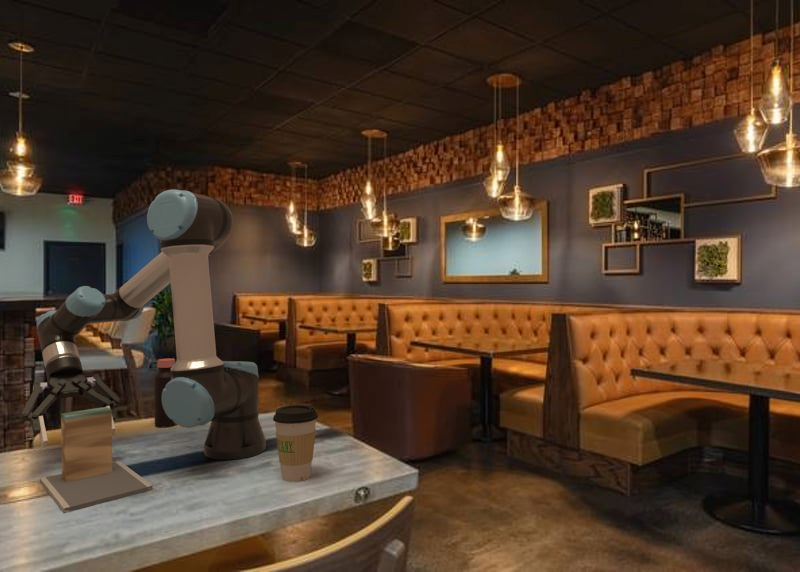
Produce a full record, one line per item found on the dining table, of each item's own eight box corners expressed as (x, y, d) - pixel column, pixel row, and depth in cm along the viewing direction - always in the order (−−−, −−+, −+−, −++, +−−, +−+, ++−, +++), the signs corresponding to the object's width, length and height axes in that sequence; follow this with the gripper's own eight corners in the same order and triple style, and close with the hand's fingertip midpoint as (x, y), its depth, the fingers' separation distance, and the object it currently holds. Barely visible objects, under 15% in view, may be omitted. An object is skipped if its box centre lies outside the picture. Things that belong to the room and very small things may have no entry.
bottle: (149, 426, 161) (148, 360, 161) (167, 421, 168) (166, 357, 167) (166, 428, 159) (165, 361, 159) (183, 423, 165) (183, 358, 165)
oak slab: (61, 477, 117) (61, 413, 117) (107, 467, 123) (106, 406, 123) (66, 482, 114) (65, 416, 114) (112, 471, 120) (111, 409, 120)
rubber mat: (40, 482, 116) (39, 478, 116) (119, 464, 127) (119, 460, 127) (63, 512, 100) (63, 508, 100) (152, 489, 111) (152, 485, 111)
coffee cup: (277, 469, 123) (276, 404, 123) (320, 468, 124) (319, 403, 124) (270, 485, 113) (269, 415, 113) (317, 484, 114) (316, 413, 114)
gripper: (114, 368, 142) (134, 435, 132) (-2, 380, 125) (10, 459, 114) (121, 350, 139) (141, 418, 128) (2, 360, 121) (15, 440, 110)
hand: (79, 438), depth 121 cm, fingers open, 13 cm apart
